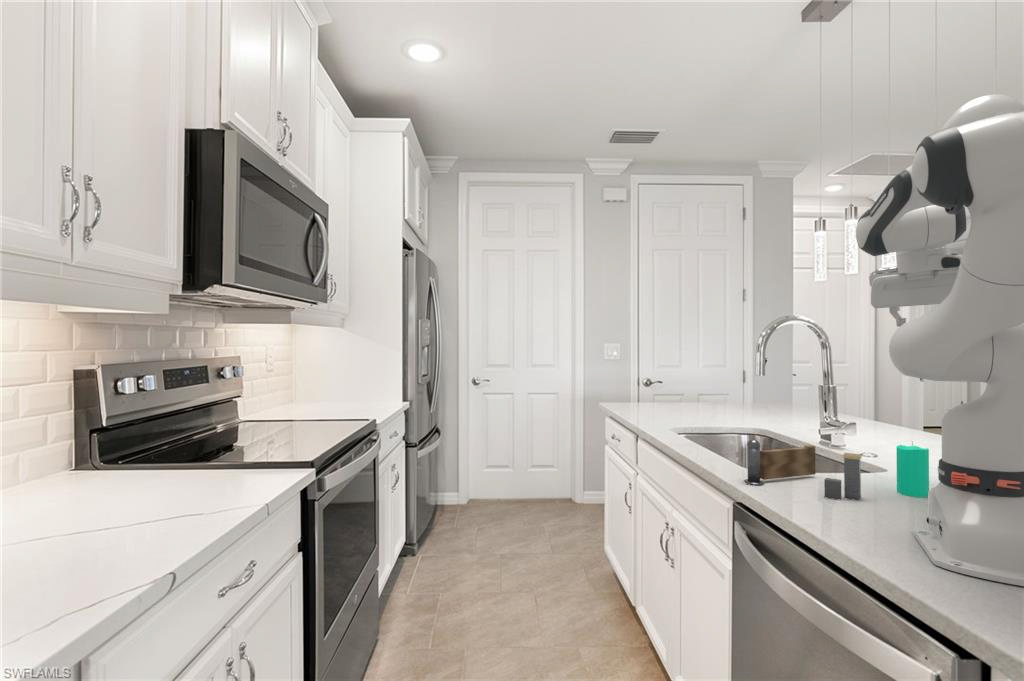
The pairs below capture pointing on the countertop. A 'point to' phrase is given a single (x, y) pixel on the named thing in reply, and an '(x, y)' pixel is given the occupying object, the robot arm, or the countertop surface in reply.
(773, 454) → the gate
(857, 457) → the latch post
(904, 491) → the candle
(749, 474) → the hinge post
